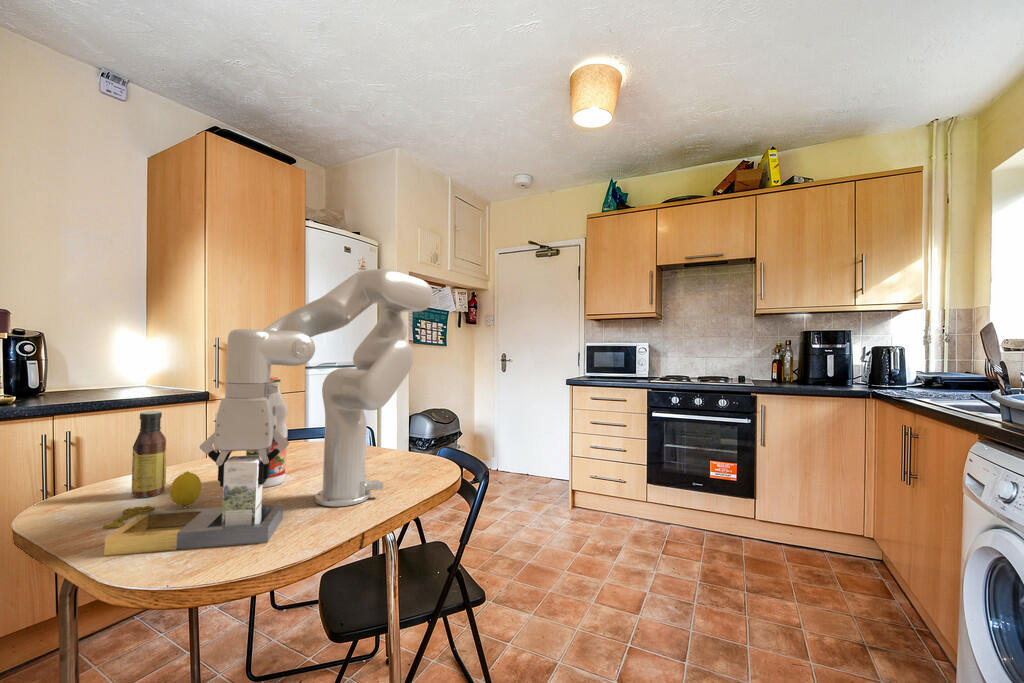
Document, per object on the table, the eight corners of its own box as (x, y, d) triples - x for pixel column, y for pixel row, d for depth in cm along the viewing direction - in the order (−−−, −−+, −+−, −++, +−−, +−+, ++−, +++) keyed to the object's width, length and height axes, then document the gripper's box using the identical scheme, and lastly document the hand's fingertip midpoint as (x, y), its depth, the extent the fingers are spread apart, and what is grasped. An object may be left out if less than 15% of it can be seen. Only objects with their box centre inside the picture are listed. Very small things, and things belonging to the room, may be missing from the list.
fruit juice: (290, 477, 120) (294, 377, 121) (278, 488, 111) (282, 379, 111) (253, 478, 118) (258, 376, 119) (238, 489, 109) (243, 378, 110)
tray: (283, 517, 92) (283, 503, 92) (267, 542, 80) (268, 526, 80) (143, 527, 85) (143, 512, 85) (104, 555, 73) (105, 538, 73)
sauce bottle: (144, 490, 106) (148, 409, 107) (171, 490, 107) (175, 410, 107) (123, 499, 100) (127, 413, 100) (151, 499, 100) (156, 413, 101)
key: (117, 524, 84) (89, 525, 83) (117, 531, 84) (88, 531, 83) (159, 503, 96) (135, 504, 95) (159, 509, 96) (134, 510, 95)
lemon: (183, 513, 93) (185, 476, 93) (162, 510, 94) (164, 473, 94) (206, 504, 98) (208, 469, 98) (186, 502, 99) (188, 467, 99)
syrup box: (261, 524, 88) (264, 453, 88) (254, 536, 82) (257, 460, 83) (229, 527, 86) (232, 454, 87) (220, 539, 81) (223, 462, 81)
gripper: (299, 390, 91) (296, 476, 90) (205, 389, 86) (201, 480, 86) (291, 393, 84) (287, 487, 83) (188, 393, 79) (183, 492, 79)
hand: (243, 482), depth 85 cm, fingers closed on syrup box, 5 cm apart
